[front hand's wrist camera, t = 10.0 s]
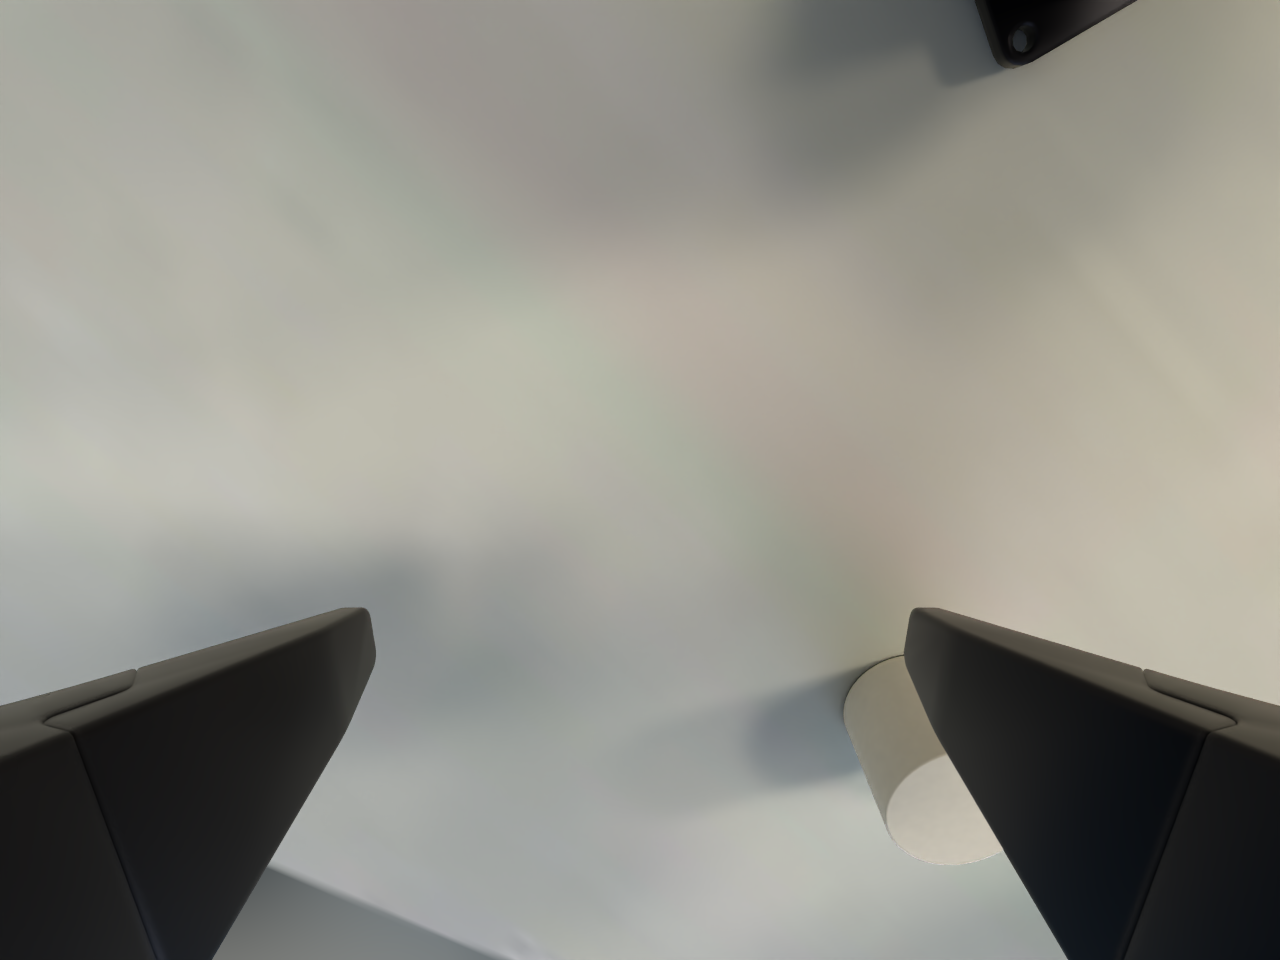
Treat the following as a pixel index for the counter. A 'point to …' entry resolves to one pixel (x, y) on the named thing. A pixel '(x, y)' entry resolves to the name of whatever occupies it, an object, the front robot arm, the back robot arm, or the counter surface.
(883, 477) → the counter surface
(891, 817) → the can
